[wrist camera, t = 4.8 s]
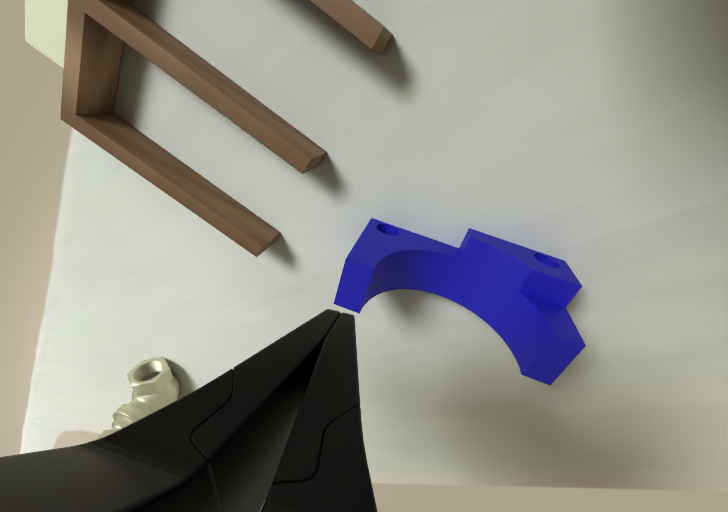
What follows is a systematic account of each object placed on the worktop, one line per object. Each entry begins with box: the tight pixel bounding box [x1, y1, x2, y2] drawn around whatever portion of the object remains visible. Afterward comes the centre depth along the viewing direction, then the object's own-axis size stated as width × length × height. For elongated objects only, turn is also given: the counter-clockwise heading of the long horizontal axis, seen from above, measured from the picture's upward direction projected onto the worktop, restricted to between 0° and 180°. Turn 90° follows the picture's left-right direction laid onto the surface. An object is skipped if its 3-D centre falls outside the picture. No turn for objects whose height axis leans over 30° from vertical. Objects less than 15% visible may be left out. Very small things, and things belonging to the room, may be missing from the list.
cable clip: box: [334, 218, 586, 385], centre depth 18 cm, size 12×4×6 cm, turn 75°
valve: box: [95, 358, 179, 440], centre depth 30 cm, size 7×7×12 cm
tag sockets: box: [25, 0, 393, 257], centre depth 18 cm, size 15×20×2 cm
